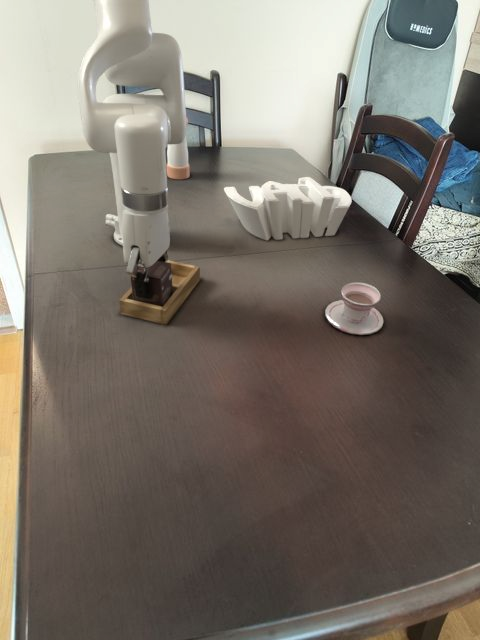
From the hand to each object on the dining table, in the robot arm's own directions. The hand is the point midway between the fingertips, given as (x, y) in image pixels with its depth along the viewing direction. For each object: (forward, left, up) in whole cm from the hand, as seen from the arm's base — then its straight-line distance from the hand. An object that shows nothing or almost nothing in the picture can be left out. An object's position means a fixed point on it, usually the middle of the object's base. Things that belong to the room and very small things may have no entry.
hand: (152, 287), depth 89 cm
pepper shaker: (-25, +71, -5) cm, 76 cm away
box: (0, 0, -3) cm, 3 cm away
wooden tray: (0, +4, -5) cm, 6 cm away
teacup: (+39, +11, -5) cm, 41 cm away
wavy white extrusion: (+17, +49, -5) cm, 52 cm away
